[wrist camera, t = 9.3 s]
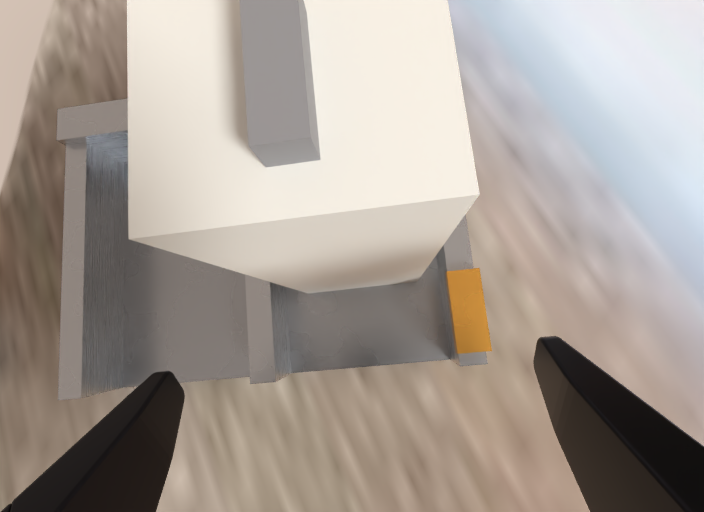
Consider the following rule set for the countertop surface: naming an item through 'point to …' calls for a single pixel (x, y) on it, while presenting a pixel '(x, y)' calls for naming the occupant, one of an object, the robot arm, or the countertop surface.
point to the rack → (227, 295)
